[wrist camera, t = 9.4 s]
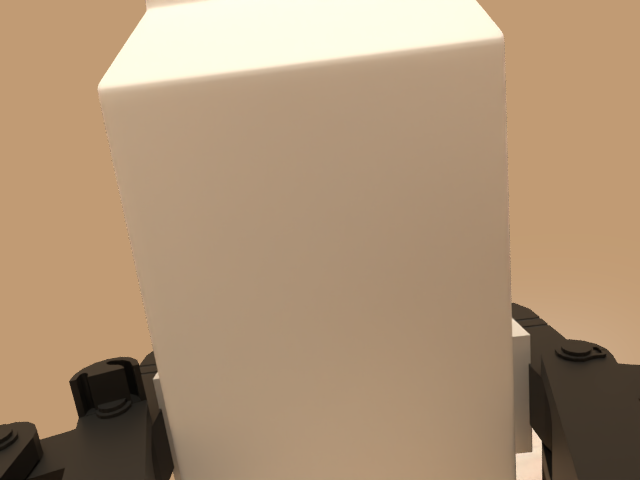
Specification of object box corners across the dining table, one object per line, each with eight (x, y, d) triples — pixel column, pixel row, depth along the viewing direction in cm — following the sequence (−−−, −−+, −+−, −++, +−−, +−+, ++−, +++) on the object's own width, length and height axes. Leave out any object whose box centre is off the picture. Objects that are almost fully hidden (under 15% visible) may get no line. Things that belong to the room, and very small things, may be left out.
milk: (293, 648, 17) (178, -23, 12) (464, 637, 17) (417, -57, 12) (272, 926, 11) (30, -168, 6) (536, 917, 11) (501, -246, 6)
